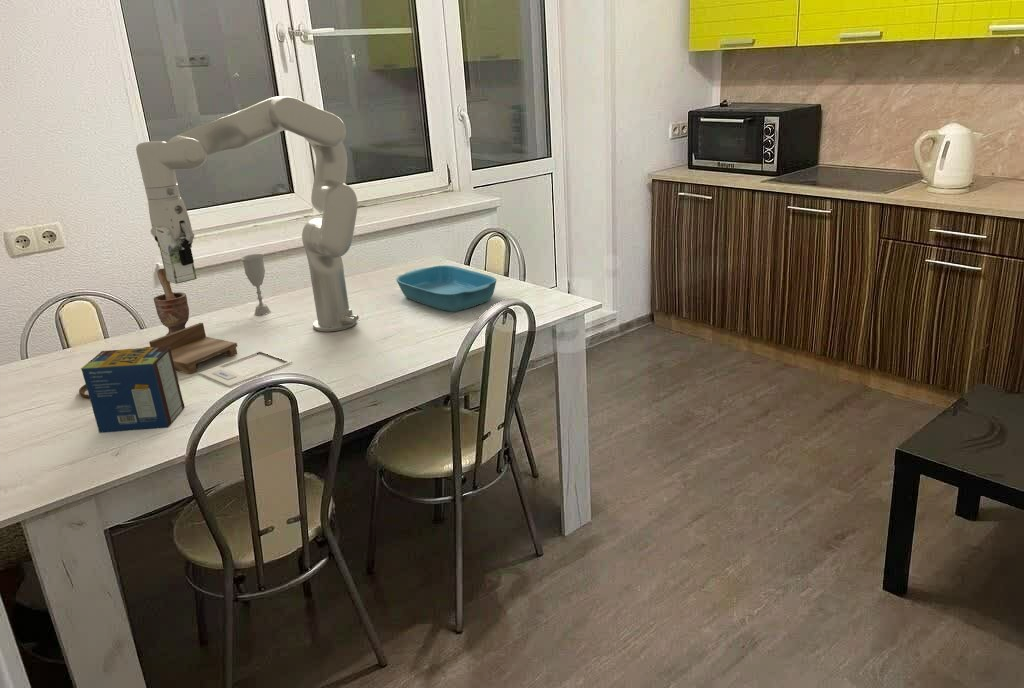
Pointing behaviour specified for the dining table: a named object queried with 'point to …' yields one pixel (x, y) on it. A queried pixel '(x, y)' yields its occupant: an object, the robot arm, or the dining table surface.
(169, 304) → the mortar and pestle
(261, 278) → the chalice
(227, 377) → the photo frame
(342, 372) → the dining table surface
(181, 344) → the shelf
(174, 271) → the syrup box
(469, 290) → the casserole dish
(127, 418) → the protein box
